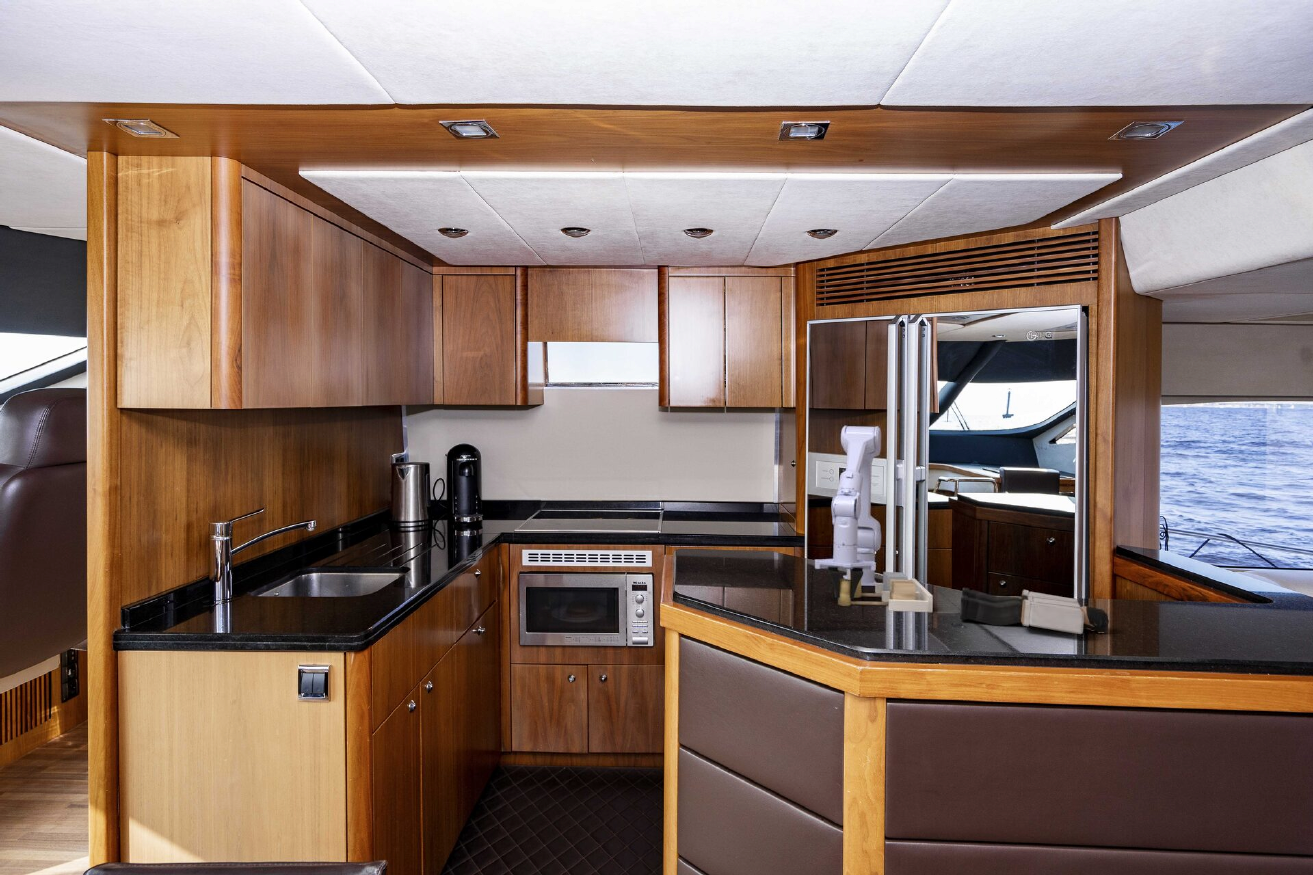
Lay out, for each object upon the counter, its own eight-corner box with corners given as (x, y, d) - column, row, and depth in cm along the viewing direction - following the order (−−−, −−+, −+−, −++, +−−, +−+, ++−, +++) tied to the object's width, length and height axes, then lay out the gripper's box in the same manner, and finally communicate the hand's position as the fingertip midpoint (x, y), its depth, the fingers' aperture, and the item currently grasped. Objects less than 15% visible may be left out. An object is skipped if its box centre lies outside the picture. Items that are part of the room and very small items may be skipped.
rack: (875, 592, 192) (875, 577, 192) (914, 593, 191) (914, 578, 191) (889, 610, 175) (889, 594, 175) (932, 612, 174) (932, 595, 174)
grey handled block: (847, 593, 191) (848, 570, 191) (902, 595, 190) (903, 572, 189) (850, 598, 186) (851, 575, 186) (906, 600, 185) (907, 576, 184)
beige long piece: (836, 601, 183) (837, 577, 183) (910, 603, 182) (910, 579, 181) (839, 606, 179) (840, 582, 178) (915, 609, 177) (915, 584, 177)
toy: (958, 624, 164) (1114, 647, 151) (959, 593, 164) (1116, 613, 151) (962, 608, 181) (1103, 627, 168) (964, 580, 181) (1105, 597, 168)
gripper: (817, 545, 177) (816, 601, 177) (878, 547, 175) (877, 603, 176) (814, 540, 184) (813, 593, 184) (873, 541, 182) (871, 595, 183)
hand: (844, 597), depth 181 cm, fingers closed on beige long piece, 3 cm apart
